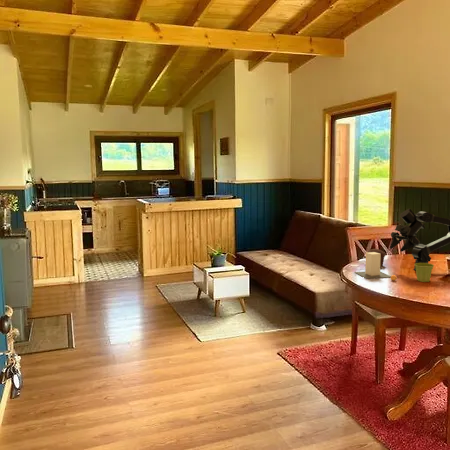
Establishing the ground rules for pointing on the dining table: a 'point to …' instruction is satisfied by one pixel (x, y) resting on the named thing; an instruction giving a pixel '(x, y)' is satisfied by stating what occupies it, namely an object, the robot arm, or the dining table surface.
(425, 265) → the plant pot
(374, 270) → the tall cream pillar
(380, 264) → the muffin
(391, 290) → the dining table surface
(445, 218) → the robot arm
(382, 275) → the mat
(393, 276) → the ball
